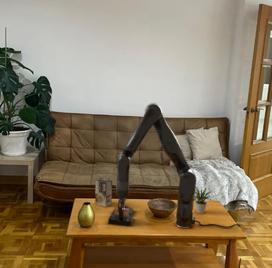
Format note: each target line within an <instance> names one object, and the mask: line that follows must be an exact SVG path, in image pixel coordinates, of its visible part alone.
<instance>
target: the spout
mask: <svg viewBox="0 0 272 268" xmlns="http://www.w3.org/2000/svg"><path fill="white" fill-rule="evenodd" d="M120 210H121V209H120ZM113 211H114V217H119V212H118V208H117V207H116V206H115V207H114V209H113ZM128 215H129V209H126V208H123V218H128Z"/></svg>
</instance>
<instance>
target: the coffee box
mask: <svg viewBox="0 0 272 268" xmlns="http://www.w3.org/2000/svg"><path fill="white" fill-rule="evenodd" d="M94 193H95V196H94V197H95V198H94V200H95V201H94V202H95V203H94V204H95V205H98V206H102V207H104V208H108V207H109V206H111V205H112V204H113V203H112V200H113V199H112V198H113V180H112V179H108V178H103V177H100V178H98V179H96V180H95V192H94Z"/></svg>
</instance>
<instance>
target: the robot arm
mask: <svg viewBox="0 0 272 268" xmlns="http://www.w3.org/2000/svg"><path fill="white" fill-rule="evenodd" d="M152 127H153V128H154V130H155V132H156V135H157V138H158V142H159V143H160V145H161V147H162V149H163V151H164V153H165V154H166V156H167V158H168V159H169V161H170V162H171V163H172V164H173V167H174V168H175V170H176V172H177V176H178V179H179V181H178V182H179V183H178V192H177V201H176V213H175V219H174V220H175V224H174V225H175V227H178V228H180V229H192V225H196V223H198V225H199V226H201V227H209V226H215V227H220V228H224V229H231V228H233V227H235V226H237V227H239V228H241V225H240V224H238V223H235V224H232V225H230V226H229V225H228V226H225V225H221V224H216V223H208V224H207V223H206V224H202V223H201V221H199V220H196V216H194V202H195V201H194V200H195V197H194V196H195V195H196V193H195V192H196V188H197V177H196V174H195V172H194V170H193V169H192V167H191V166H190V164H189V162H188V161H187V159H186V157H185V155H184V152H183V148H182V147H181V144H180V143H179V141H178V139H177V137H176V135H175V133H174V132H173V131H172V129H171V127H170V126H169V125H168V123H167V121H166V118H165V116H164V114H163V111H162V107H161V106H160V104H158V103H155V102H151V103H148V104H147V105H146V106H145V109H144V114H143V116H142V119H141V121H140V123H139V124H138V126H137V127H136V129H135V130H134V131H133V133H132V134H131V136H130V137H129V139H128V140H127V142H126V144H125V146H124V147H123V149H122V150H121V152H120V153H119V154H118V156H117V173H116V183H115V196H116V197H117V198H118V199H117V206H118V212H119V218H123V208H125V204H126V202H127V198H128V197H129V196H130V176H131V175H130V169H131V168H130V167H131V160H132V158H133V156H134V155H135V153H137V151H138V150H139V148H140V147H141V146H142V143H144V142H143V141H144V140H145V138H146V136H147V134H148V133H149V132H150V130H151V129H152ZM126 205H127V204H126ZM120 209H121V210H120ZM241 262H242V258H239V262H238V268H241Z"/></svg>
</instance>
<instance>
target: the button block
mask: <svg viewBox="0 0 272 268" xmlns="http://www.w3.org/2000/svg"><path fill="white" fill-rule="evenodd" d="M115 207H117V208H118V205H116V206H115ZM126 209H129V214H132V215H133V212H134V207H130V206H129V205H127V206H126ZM112 213H114V210H113V211H112Z"/></svg>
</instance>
